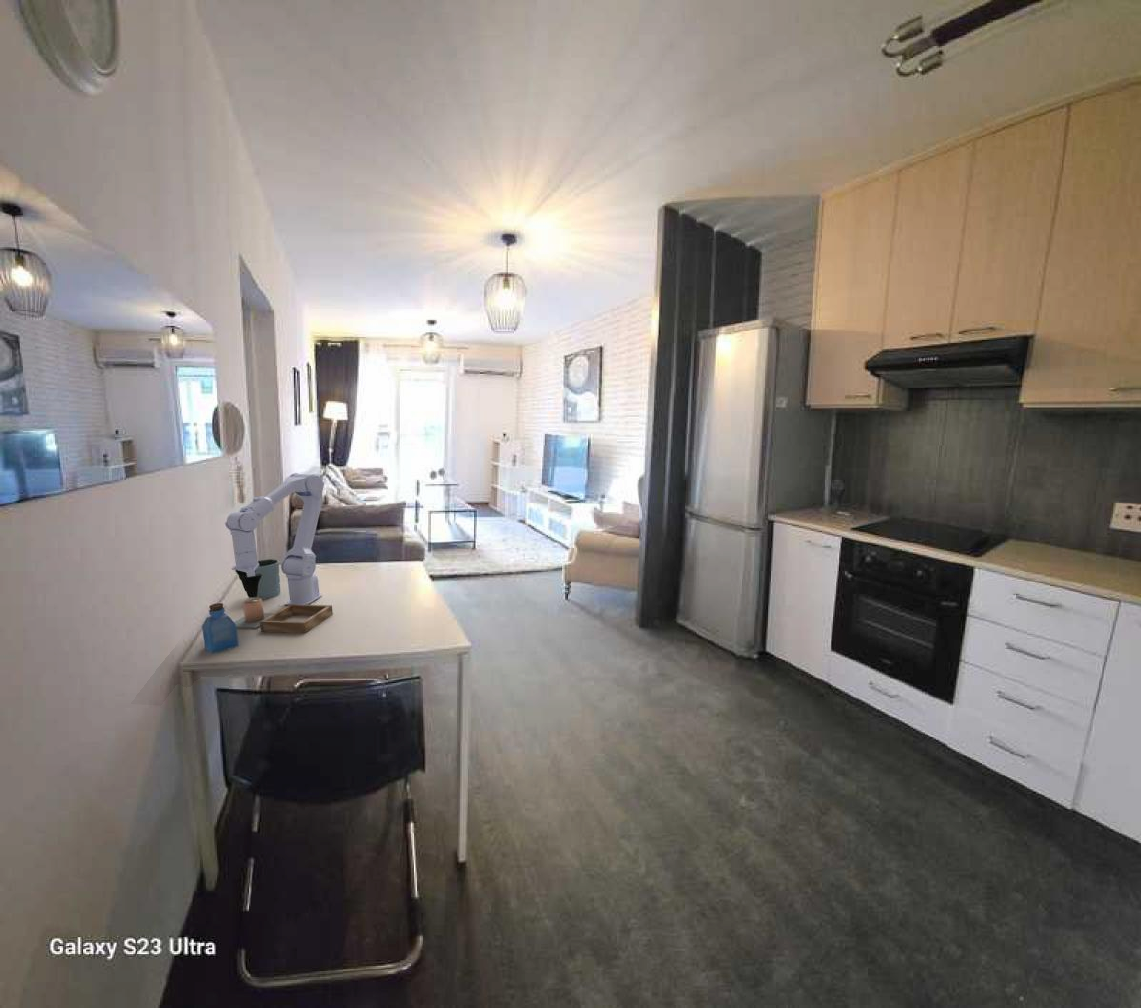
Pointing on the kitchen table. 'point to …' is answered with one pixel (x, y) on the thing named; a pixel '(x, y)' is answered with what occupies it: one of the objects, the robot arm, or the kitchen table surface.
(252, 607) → the terracotta pot
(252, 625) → the slate mat
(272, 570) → the green pot
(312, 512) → the robot arm
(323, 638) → the kitchen table surface
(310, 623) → the wooden square frame
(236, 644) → the perfume bottle
